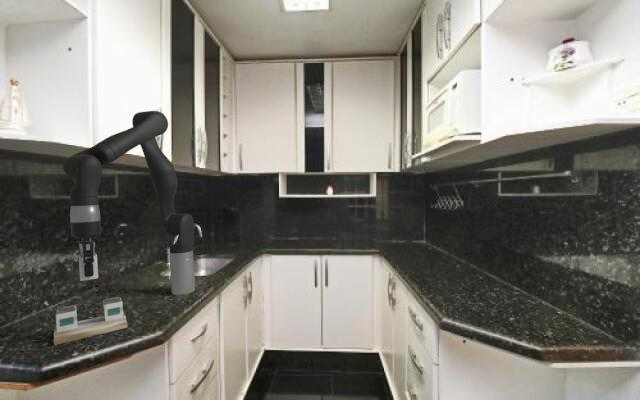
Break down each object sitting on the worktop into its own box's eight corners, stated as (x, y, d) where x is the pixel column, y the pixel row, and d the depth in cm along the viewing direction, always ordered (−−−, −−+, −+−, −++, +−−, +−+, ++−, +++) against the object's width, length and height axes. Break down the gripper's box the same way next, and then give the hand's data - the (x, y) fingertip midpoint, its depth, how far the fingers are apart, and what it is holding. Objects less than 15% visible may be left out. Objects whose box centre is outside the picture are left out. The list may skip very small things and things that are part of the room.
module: (79, 277, 103) (78, 253, 103) (97, 274, 106) (95, 251, 106) (80, 280, 99) (78, 256, 99) (98, 278, 102) (96, 253, 101)
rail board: (55, 331, 102) (54, 306, 102) (122, 316, 113) (121, 293, 113) (53, 345, 93) (52, 317, 92) (127, 327, 103) (126, 302, 103)
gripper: (102, 220, 98) (105, 276, 99) (98, 218, 110) (101, 268, 110) (70, 222, 94) (73, 281, 94) (70, 220, 105) (73, 272, 106)
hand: (88, 274), depth 102 cm, fingers closed on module, 5 cm apart
